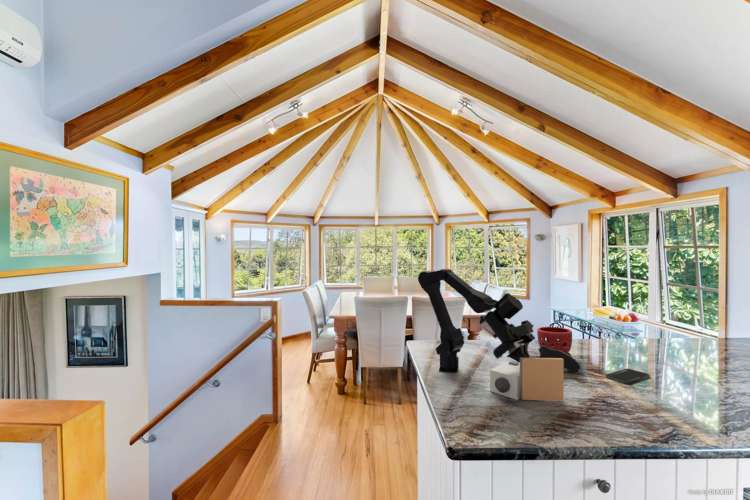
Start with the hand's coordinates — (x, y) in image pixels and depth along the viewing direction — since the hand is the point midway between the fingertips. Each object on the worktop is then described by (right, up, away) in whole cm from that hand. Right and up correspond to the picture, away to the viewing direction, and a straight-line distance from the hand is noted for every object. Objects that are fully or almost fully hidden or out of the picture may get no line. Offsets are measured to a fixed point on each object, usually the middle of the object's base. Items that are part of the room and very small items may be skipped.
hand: (532, 368), depth 113 cm
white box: (-4, -8, +5) cm, 10 cm away
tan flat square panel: (+1, -8, -4) cm, 9 cm away
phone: (+41, -9, +15) cm, 44 cm away
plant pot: (+26, -8, +37) cm, 46 cm away
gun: (+20, -8, +21) cm, 30 cm away
